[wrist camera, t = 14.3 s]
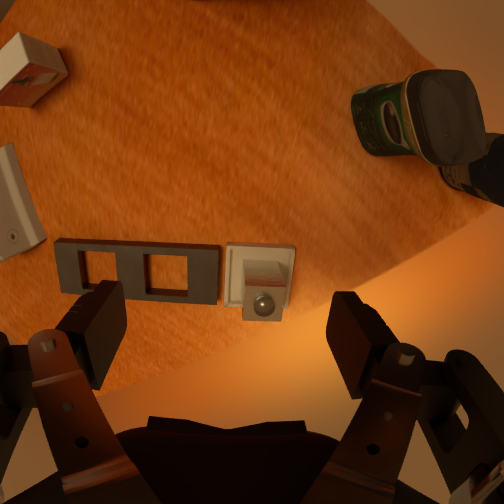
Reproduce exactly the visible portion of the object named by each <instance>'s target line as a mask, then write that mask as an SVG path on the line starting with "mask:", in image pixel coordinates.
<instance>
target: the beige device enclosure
mask: <svg viewBox="0 0 504 504" xmlns="http://www.w3.org/2000/svg"><path fill="white" fill-rule="evenodd" d="M46 238H47V237H46V234H45V232H44V230H43V227H42V225H41V223H40V220H39V218H38V215H37V213H36V210H35V208H34V205H33V202H32V200H31V197H30V194H29V192H28V189H27V186H26V183H25V180H24V178H23V175H22V172H21V169H20V165H19V162H18V159H17V156H16V152H15V149H14V146H13V143H11V144H8V145H5V146H3V147H1V148H0V262H2V261H4V260H7V259H9V258H11V257H13V256H16V255H18V254H20V253H22V252H25V251H27V250H29V249H31V248H34V247H35V246H36V245H37V244H38V243H40V242H41V241H43V240H45V239H46Z"/></svg>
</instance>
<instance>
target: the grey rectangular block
mask: <svg viewBox="0 0 504 504" xmlns="http://www.w3.org/2000/svg"><path fill="white" fill-rule="evenodd" d="M285 291H286V286H285V283H284V280H283V277H282V275H281V272H280V269H279V266H278V263H277V261H270V260H249V259H243V263H242V277H241V303H242V318H243V321H281V319H282V312H283V305H284V298H285Z"/></svg>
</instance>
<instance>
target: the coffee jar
mask: <svg viewBox="0 0 504 504" xmlns="http://www.w3.org/2000/svg"><path fill="white" fill-rule="evenodd" d="M351 110H352V115H353V120H354V124H355V127H356V130H357V133H358V136H359V138H360V141H361V143H362V145H363V147H364V149H365V150H366V151H367V152H369V153H370V154H372V155H375V156H397V155H416V156H419V157H420V158H421V159H423V160H424V161H426V162H427V163H429V164H431V165H434V166H456V165H463V164H467V163H470V162H473V161H476V160H478V159H480V158H482V157H483V156H484V152H485V147H486V132H485V126H484V121H483V115H482V111H481V107H480V103H479V100H478V96H477V92H476V89H475V87H474V85H473V83H472V81H471V79H470V78H469V77H468V76H467V74H466V73H464V72H462V71H458V70H442V69H425V70H421V71H417V72H415V73H413V74H411V75H409V76H408V77H407V78H406V79H405V81H404V82H399V83H389V84H378V85H373V86H369V87H366V88H363V89H361V90H359V91H357V92H356V93H355V94H354V95H353V97H352V100H351Z"/></svg>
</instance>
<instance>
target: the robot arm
mask: <svg viewBox="0 0 504 504" xmlns="http://www.w3.org/2000/svg"><path fill="white" fill-rule="evenodd" d="M126 328H127V315H126V307H125V299H124V290H123V285H122V282H121V281H110V280H102V281H101V282H100V283H99V284H98V286H97V287H96V288H95V289H94V291H93V292H91V291H89V292H87V293H86V294H84V295H82V296H81V297H79V298H78V300H77V301H76V302H75V303H74V306H72V307H71V308H70V310H69V312H67V313H66V315H65V316H64V317H63V319H62V320H61V321H60V322H59V324H58V325H57V326H56V328H55V329H47V330H42V331H40V332H38V333H36V334H34V335H33V336H32V337H31V338H30V339H29V341H28V345H10V344H9V341H8V338H7V336H6V335H5V334H4V333H2V332H0V504H439V503H437V502H436V501H434V500H432V499H430V498H429V497H427V496H425V495H423V494H422V493H420V492H418V491H417V490H415V489H413V488H411V487H410V486H408V485H406V484H405V483H403V482H401V481H400V480H398V476H399V473H400V470H401V467H402V465H403V462H404V458H405V456H406V452H407V449H408V446H409V443H410V440H411V436H412V433H413V430H414V426H415V422H416V420H418V422H419V424H420V427H421V429H422V431H423V433H424V435H425V437H426V439H427V441H428V444H429V446H430V447H431V450H432V452H433V455H434V457H435V459H436V461H437V463H438V466H439V468H440V470H441V473H442V475H443V477H444V479H445V482H446V484H447V487H448V489H449V491H450V494H451V497H450V499H449V504H504V392H503V391H502V389H501V388H500V387H499V385H498V384H497V383H496V382H495V380H494V379H493V378H492V377H491V375H490V374H489V373H488V371H487V370H486V369H485V368H484V366H483V365H482V364H481V363H480V361H479V360H478V359H477V358H476V357H475V356H474V355H472V354H471V353H469V352H466V351H464V350H458V349H457V350H451V351H449V352H448V353H447V355H446V357H445V359H444V362H440V361H430V360H426V358H425V355H424V354H423V352H422V351H421V350H420V349H418V348H417V347H415V346H413V345H410V344H407V343H400V342H399V341H398V339H397V338H396V336H395V335H394V334H393V332H392V331H391V330H390V328H389V327H388V326H386V323H385V322H384V320H383V319H382V318H381V316H380V315H379V314H378V312H377V311H376V310H375V309H373V308H372V307H370V306H369V305H368V304H363V302H362V301H361V300H360V298H359V297H358V295H357V294H356V293H355V292H354V291H336V292H335V293H334V294H333V298H332V303H331V307H330V312H329V317H328V322H327V326H326V338H327V342H328V344H329V347H330V349H331V351H332V354H333V356H334V358H335V360H336V363H337V365H338V368H339V370H340V372H341V375H342V376H343V379H344V382H345V384H346V386H347V389H348V391H349V394H350V396H351V398H352V399H361V398H363V399H362V401H361V403H360V405H359V407H358V409H357V411H356V413H355V415H354V416H353V419H352V420H351V423H350V424H349V426H348V428H347V429H346V432H345V433H344V435H343V437H342V439H341V440H340V441H338V440H336V439H334V438H331V437H329V436H326V435H323V434H319V433H315V432H310V431H307V429H306V425H305V421H303V420H301V421H280V422H265V423H260V424H255V425H250V426H244V427H239V428H234V429H222V428H217V427H213V426H209V425H205V424H201V423H197V422H194V421H190V420H185V419H173V418H163V417H154V416H149V419H148V423H147V427H139V428H134V429H129V430H126V431H123V432H121V433H118V434H116V435H115V434H114V432H113V430H112V429H111V427H110V425H109V423H108V421H107V419H106V417H105V415H104V413H103V412H102V410H101V408H100V406H99V404H98V402H97V400H96V397H95V395H94V393H93V391H92V389H94V390H99V391H100V388H101V386H102V384H103V381H104V379H105V377H106V374H107V372H108V370H109V368H110V365H111V363H112V361H113V359H114V356H115V354H116V352H117V350H118V347H119V345H120V343H121V341H122V339H123V337H124V335H125V332H126ZM460 404H461V405H462V406H463V408H464V409H465V411H466V413H467V415H468V418H469V424H468V428H467V430H466V429H465V428H464V426H463V424H462V422H461V420H460V419H459V417H458V415H457V414H456V411H457V409H458V408H459V406H460ZM32 408H38V411H39V415H40V418H41V422H42V425H43V429H44V432H45V435H46V438H47V441H48V444H49V447H50V450H51V453H52V456H53V458H54V461H55V464H56V467H57V469H58V471H57V472H55V473H54V474H52V475H50V476H49V477H47V478H46V479H44V480H42V481H41V482H39V483H37V484H35V485H34V486H32V487H30V488H29V489H27V490H25V491H24V492H22V493H20V494H18V495H16V496H15V497H13V498H11V499H9V500H7V501H6V502H4V492H3V489H2V487H1V482H2V479H3V477H4V474H5V471H6V469H7V466H8V463H9V461H10V458H11V456H12V453H13V451H14V448H15V446H16V444H17V441H18V439H19V436H20V434H21V432H22V430H23V427H24V425H25V423H26V421H27V418H28V416H29V414H30V412H31V409H32Z"/></svg>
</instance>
